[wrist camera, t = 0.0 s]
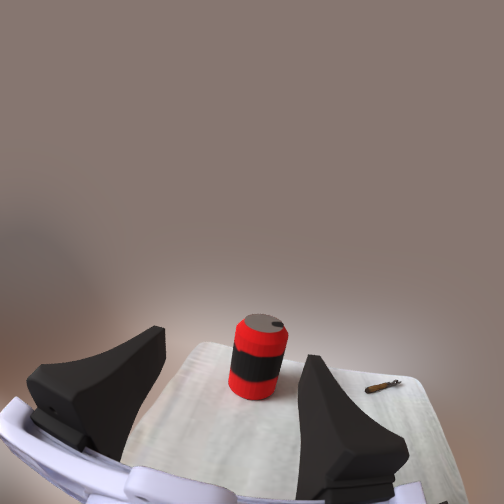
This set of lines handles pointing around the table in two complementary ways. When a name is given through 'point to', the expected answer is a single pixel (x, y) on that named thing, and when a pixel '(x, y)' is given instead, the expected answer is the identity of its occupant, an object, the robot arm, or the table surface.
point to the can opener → (380, 386)
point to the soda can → (257, 356)
